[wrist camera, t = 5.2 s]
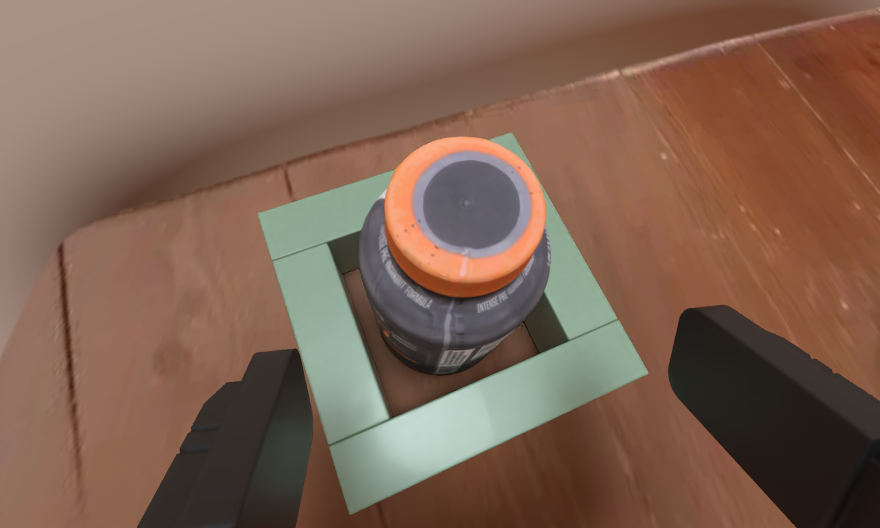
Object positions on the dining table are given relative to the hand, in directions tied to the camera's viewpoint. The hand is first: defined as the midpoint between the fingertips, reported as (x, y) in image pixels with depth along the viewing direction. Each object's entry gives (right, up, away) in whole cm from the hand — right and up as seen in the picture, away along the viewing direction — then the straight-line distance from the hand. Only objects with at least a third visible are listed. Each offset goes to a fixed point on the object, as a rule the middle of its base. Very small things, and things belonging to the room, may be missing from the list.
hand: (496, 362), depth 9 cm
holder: (-1, 0, +12) cm, 12 cm away
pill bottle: (-1, 0, +12) cm, 12 cm away
